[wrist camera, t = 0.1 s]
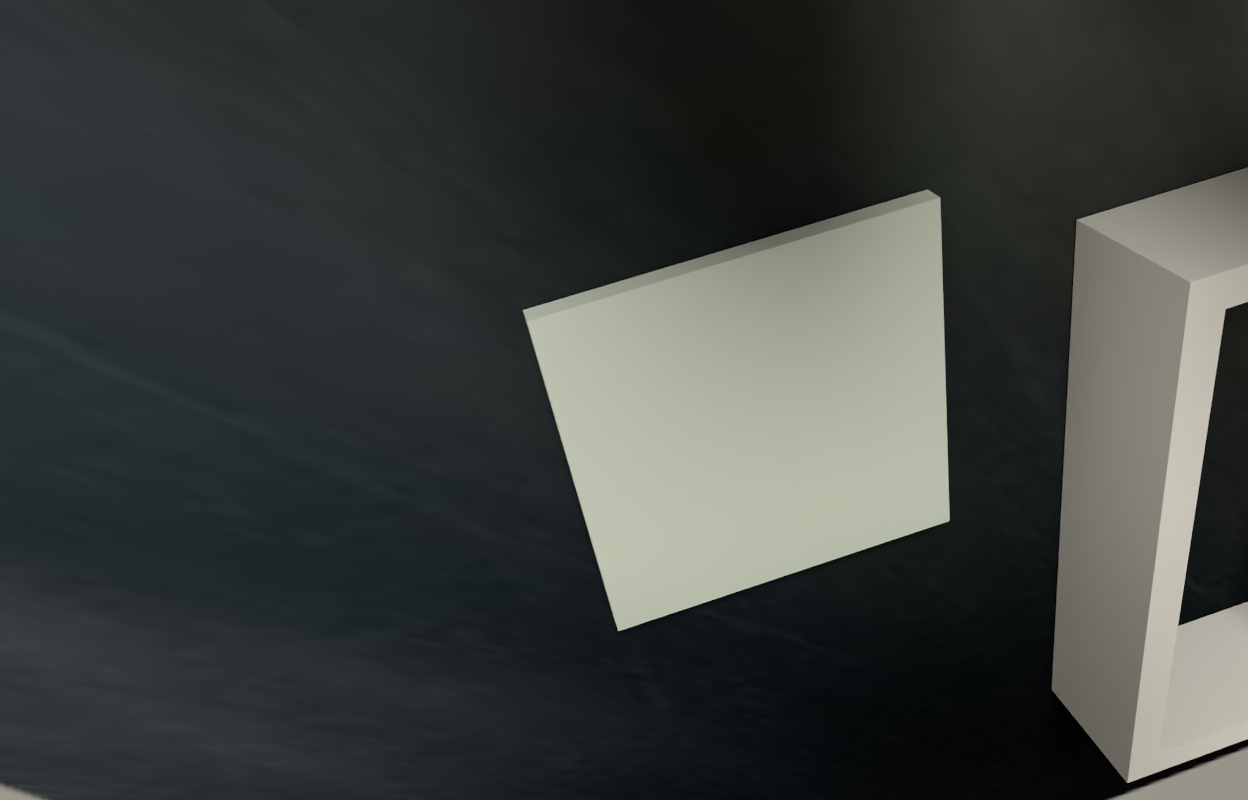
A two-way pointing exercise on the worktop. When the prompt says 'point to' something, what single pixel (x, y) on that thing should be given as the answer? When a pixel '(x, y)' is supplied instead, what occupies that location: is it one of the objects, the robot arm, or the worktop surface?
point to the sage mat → (755, 406)
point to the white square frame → (1147, 478)
